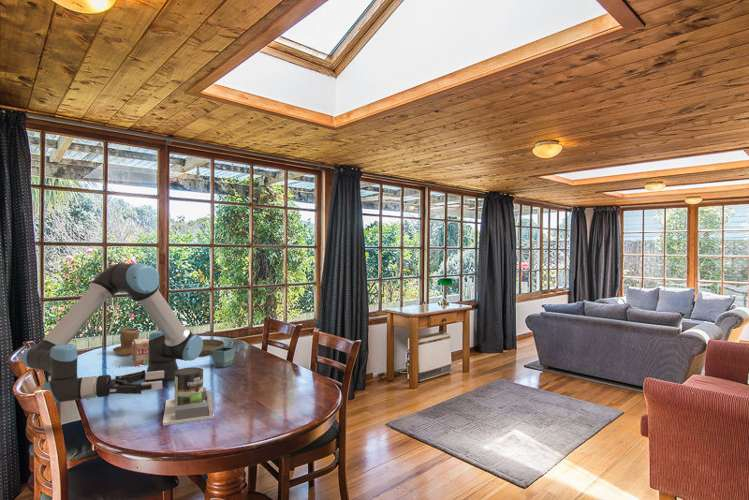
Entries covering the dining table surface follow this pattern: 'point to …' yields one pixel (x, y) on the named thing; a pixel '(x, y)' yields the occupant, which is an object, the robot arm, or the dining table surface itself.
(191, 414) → the block
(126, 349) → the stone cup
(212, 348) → the plant saucer
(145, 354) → the tan printed box
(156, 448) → the dining table surface
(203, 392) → the block
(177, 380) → the coffee can
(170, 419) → the mounting board
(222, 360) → the flower pot
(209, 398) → the metal rail
